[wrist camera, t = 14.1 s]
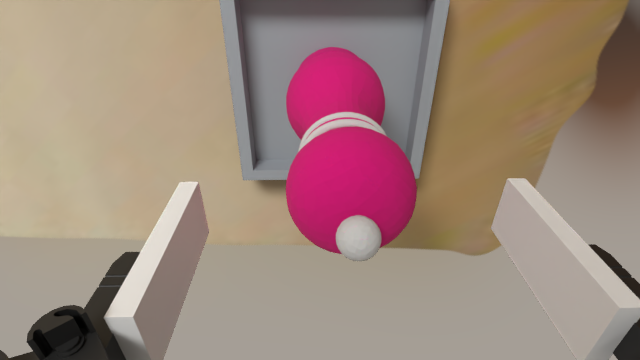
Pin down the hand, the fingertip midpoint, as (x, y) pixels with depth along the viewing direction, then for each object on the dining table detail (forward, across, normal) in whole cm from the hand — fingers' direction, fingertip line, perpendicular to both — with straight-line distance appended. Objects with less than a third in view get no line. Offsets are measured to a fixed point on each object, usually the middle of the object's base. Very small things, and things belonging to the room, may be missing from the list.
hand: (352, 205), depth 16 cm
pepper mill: (+17, 0, 0) cm, 17 cm away
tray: (+18, 0, 0) cm, 18 cm away
